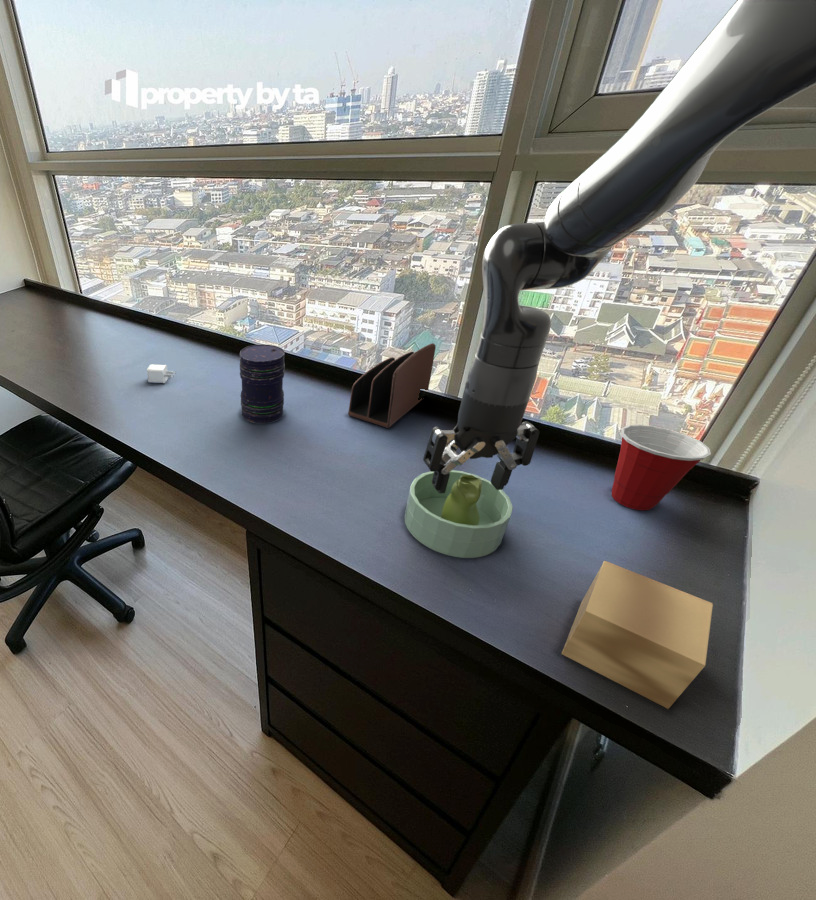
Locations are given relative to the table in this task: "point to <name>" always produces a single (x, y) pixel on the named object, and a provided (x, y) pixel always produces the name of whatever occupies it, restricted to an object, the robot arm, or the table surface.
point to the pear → (463, 501)
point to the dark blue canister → (262, 383)
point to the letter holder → (392, 387)
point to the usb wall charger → (158, 373)
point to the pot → (454, 536)
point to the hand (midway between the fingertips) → (467, 488)
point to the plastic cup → (653, 464)
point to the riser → (641, 633)
